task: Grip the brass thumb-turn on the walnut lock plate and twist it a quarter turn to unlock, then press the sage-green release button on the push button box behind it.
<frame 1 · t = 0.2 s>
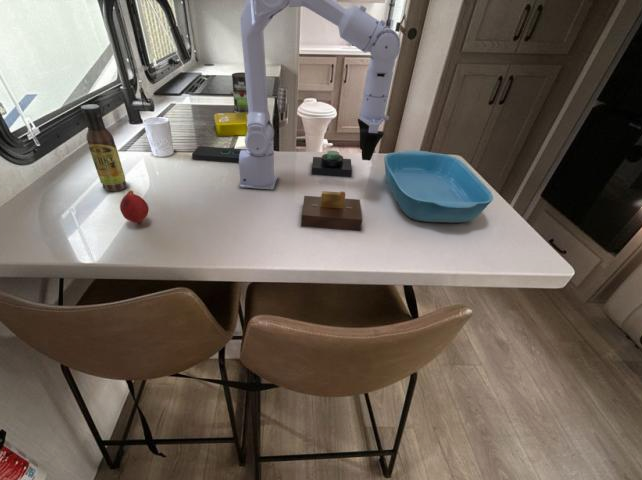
hand: (364, 154, 87), 10 cm above the countertop, tool pointing down, fingers open, 7 cm apart
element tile: (235, 130, 130), on the countertop
onion: (139, 223, 78), on the countertop
coffee can: (245, 112, 150), on the countertop
lock plate: (330, 218, 82), on the countertop
push button box: (331, 170, 104), on the countertop
smart home device: (225, 157, 109), on the countertop
casserole dish: (425, 199, 91), on the countertop
white cup: (163, 153, 110), on the countertop
release button: (332, 155, 101), point 4 cm above the countertop, slide at 0.1 cm
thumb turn: (332, 199, 78), point 5 cm above the countertop, hinge at 0.0°
sauce bottle: (116, 188, 91), on the countertop
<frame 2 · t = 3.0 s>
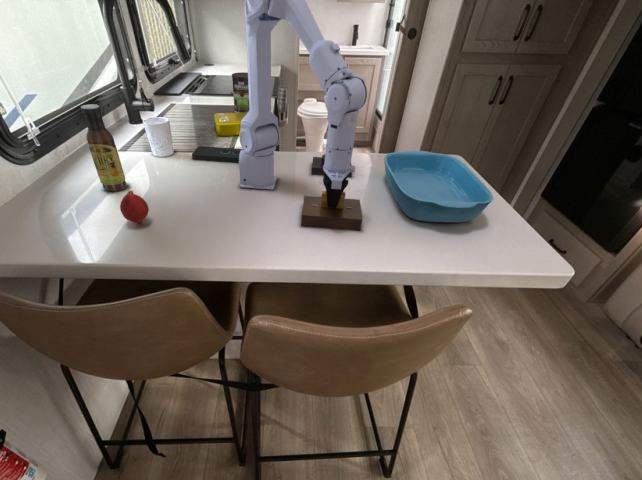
hand: (332, 205, 79), 4 cm above the countertop, tool pointing down, fingers closed on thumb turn
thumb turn: (332, 199, 78), point 5 cm above the countertop, hinge at 0.1°, touching gripper
everything else where it was.
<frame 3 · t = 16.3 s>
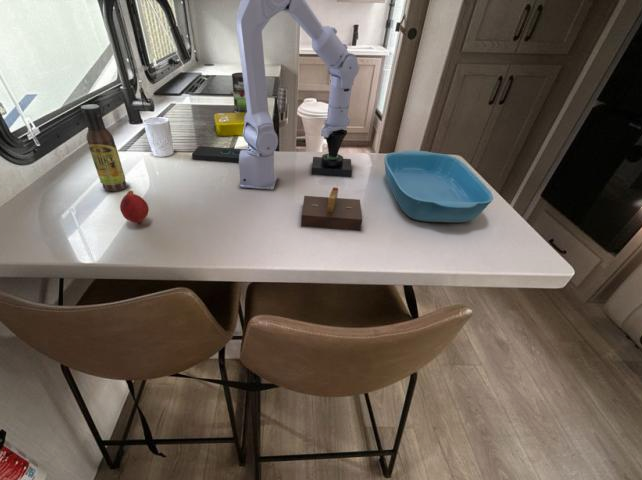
hand: (332, 156, 101), 4 cm above the countertop, tool pointing down, fingers closed, pressing on release button
release button: (332, 159, 101), point 3 cm above the countertop, slide at -0.9 cm, touching gripper
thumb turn: (332, 199, 78), point 5 cm above the countertop, hinge at 79.6°
everything else where it was.
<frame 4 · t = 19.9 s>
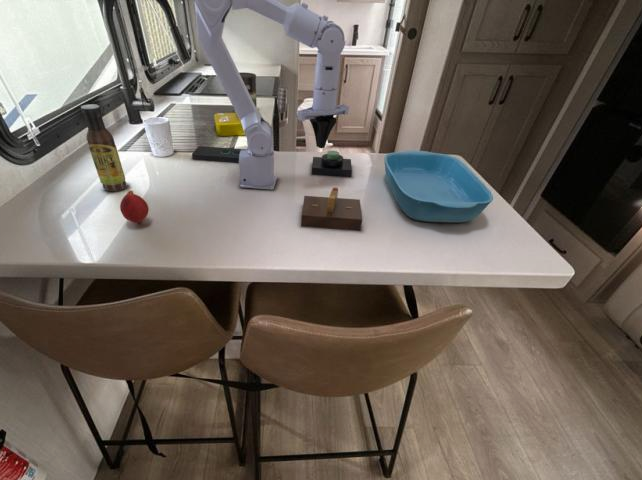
hand: (320, 146, 89), 10 cm above the countertop, tool pointing down, fingers closed
release button: (332, 155, 101), point 4 cm above the countertop, slide at 0.1 cm
everything else where it was.
at the end: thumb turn at +80° (first picture: +0°); release button pushed in 1.2 cm at the most during the clip, back to where it started at the end; release button slide at 0.1 cm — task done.
